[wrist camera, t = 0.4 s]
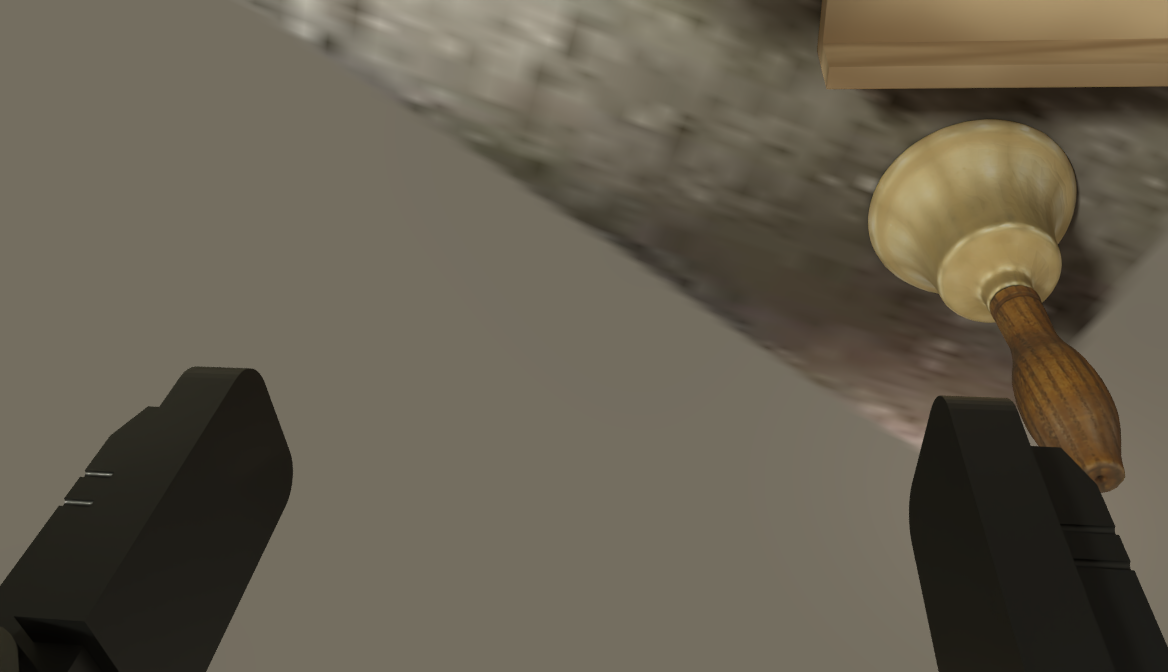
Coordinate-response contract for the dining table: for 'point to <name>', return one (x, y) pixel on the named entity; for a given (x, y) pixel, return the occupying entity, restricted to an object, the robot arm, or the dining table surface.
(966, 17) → the boss board
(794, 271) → the dining table surface
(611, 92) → the dining table surface
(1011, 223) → the hand bell
